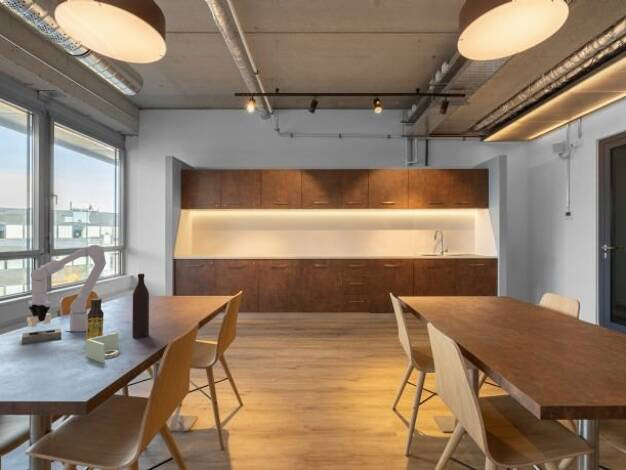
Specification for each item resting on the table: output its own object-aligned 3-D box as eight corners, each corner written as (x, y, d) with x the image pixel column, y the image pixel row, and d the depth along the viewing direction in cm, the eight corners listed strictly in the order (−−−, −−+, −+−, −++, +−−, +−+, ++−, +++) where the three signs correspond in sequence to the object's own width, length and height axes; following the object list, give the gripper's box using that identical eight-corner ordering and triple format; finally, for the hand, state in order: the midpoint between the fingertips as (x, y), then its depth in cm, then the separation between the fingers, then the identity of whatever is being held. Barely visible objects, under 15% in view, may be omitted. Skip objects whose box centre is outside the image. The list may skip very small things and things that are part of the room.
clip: (47, 322, 171) (47, 313, 171) (51, 322, 170) (51, 313, 170) (26, 326, 162) (26, 317, 162) (30, 327, 161) (30, 318, 161)
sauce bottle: (85, 346, 148) (85, 300, 148) (86, 342, 153) (87, 298, 153) (102, 344, 151) (103, 299, 151) (103, 340, 156) (104, 297, 156)
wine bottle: (151, 336, 163) (151, 273, 164) (135, 339, 158) (136, 274, 158) (145, 333, 168) (145, 272, 168) (130, 336, 163) (130, 273, 163)
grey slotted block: (60, 334, 165) (60, 328, 165) (61, 338, 159) (61, 332, 159) (22, 339, 156) (22, 333, 156) (21, 344, 150) (21, 337, 150)
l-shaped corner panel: (102, 364, 129) (102, 344, 129) (86, 358, 135) (86, 339, 135) (132, 355, 139) (133, 336, 139) (116, 349, 146) (116, 332, 146)
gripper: (20, 293, 165) (20, 321, 165) (39, 295, 160) (39, 323, 160) (37, 290, 172) (37, 317, 172) (55, 292, 166) (55, 320, 166)
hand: (39, 320), depth 166 cm, fingers closed on clip, 3 cm apart
